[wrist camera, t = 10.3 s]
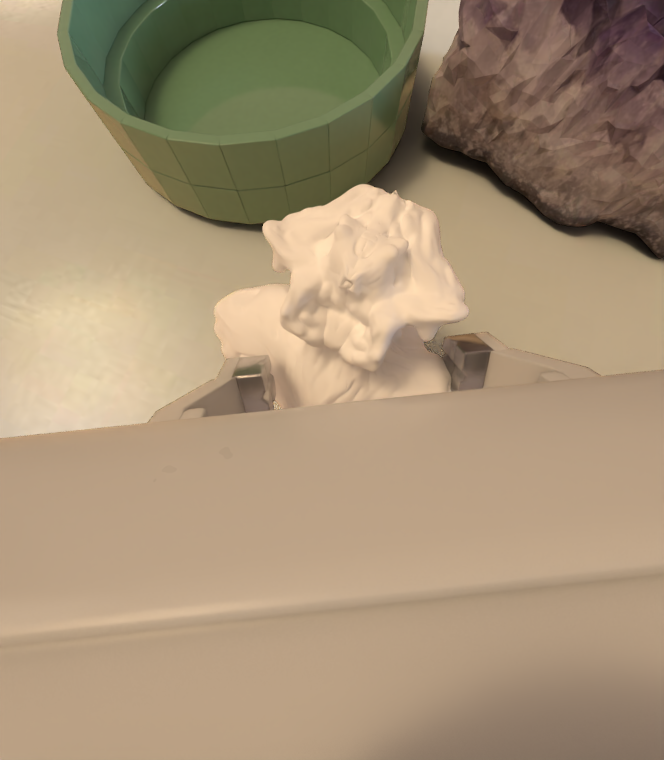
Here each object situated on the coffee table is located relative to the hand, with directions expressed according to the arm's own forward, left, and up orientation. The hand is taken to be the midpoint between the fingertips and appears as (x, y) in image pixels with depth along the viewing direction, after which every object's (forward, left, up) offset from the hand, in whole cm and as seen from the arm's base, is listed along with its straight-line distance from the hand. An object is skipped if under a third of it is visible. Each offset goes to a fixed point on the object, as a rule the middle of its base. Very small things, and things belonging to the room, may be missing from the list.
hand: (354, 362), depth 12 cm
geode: (-15, -14, -5) cm, 21 cm away
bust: (0, -1, -5) cm, 5 cm away
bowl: (+4, -20, -5) cm, 21 cm away
